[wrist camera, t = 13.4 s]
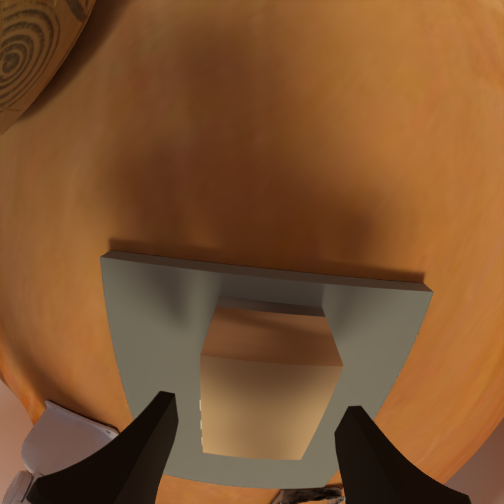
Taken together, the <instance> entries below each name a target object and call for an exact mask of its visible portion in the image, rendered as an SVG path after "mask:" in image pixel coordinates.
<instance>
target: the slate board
mask: <svg viewBox="0 0 504 504" xmlns="http://www.w3.org/2000/svg"><path fill="white" fill-rule="evenodd" d="M100 262H101V272H102V281H103V290H104V297H105V304H106V310H107V317H108V322H109V328H110V333H111V338H112V343H113V348H114V352H115V357H116V361H117V365H118V369H119V373H120V377H121V381H122V384H123V388H124V392H125V395H126V398H127V402H128V405H129V408H130V411H131V414H132V417H133V420H135V419H136V418H137V417H138V415H139V414H140V413H141V412H142V411H143V410H144V409H145V408H146V407H147V406H148V404H149V403H150V402H151V401H152V400H153V398H154V397H155V396H156V395H157V393H158V392H159V391H166V392H170V393H175V397H176V405H177V412H178V419H179V423H178V427H177V432H176V436H175V441H174V444H173V447H172V449H171V452H170V455H169V458H168V460H167V463H166V466H165V469H164V471H163V474H165V475H169V476H173V477H178V478H183V479H188V480H193V481H198V482H204V483H211V484H218V485H226V486H235V487H247V488H266V489H300V488H318V487H324V486H325V485H326V484H327V483H328V481H329V480H330V479H331V478H332V477H333V475H334V474H335V473H336V472H337V470H338V469H339V465H338V460H337V455H336V448H335V436H334V432H335V430H336V429H337V427H338V425H339V423H340V421H341V419H342V417H343V416H344V414H345V412H346V410H347V408H348V406H360V405H361V406H362V407H363V409H364V410H365V411H366V412H367V414H368V415H369V416H370V418H371V419H372V420H374V418H375V416H376V415H377V413H378V412H379V410H380V408H381V407H382V405H383V403H384V401H385V400H386V398H387V396H388V394H389V393H390V391H391V389H392V387H393V385H394V383H395V381H396V380H397V378H398V376H399V374H400V372H401V370H402V368H403V366H404V364H405V361H406V359H407V357H408V355H409V353H410V351H411V349H412V346H413V344H414V342H415V339H416V337H417V335H418V332H419V330H420V327H421V325H422V322H423V320H424V317H425V314H426V312H427V309H428V306H429V303H430V301H431V298H432V295H433V291H432V290H431V289H430V288H428V287H427V286H426V285H425V284H424V283H412V282H401V281H389V280H378V279H366V278H356V277H345V276H334V275H324V274H314V273H304V272H294V271H285V270H275V269H266V268H256V267H247V266H238V265H229V264H220V263H211V262H203V261H194V260H186V259H177V258H169V257H161V256H153V255H145V254H137V253H129V252H121V251H114V250H110V251H109V252H107V253H106V254H104V255H102V256H101V257H100ZM219 296H222V297H230V298H238V299H247V300H256V301H265V302H275V303H285V304H296V305H308V306H320V307H322V308H323V311H324V313H325V316H326V319H327V321H328V324H329V327H330V329H331V332H332V335H333V338H334V340H335V343H336V346H337V349H338V352H339V354H340V357H341V360H342V363H343V366H344V367H343V369H342V372H341V374H340V377H339V380H338V382H337V384H336V387H335V389H334V392H333V394H332V396H331V399H330V401H329V403H328V406H327V408H326V410H325V412H324V414H323V417H322V419H321V421H320V423H319V425H318V427H317V429H316V431H315V433H314V435H313V437H312V439H311V441H310V443H309V445H308V447H307V449H306V451H305V453H304V455H303V456H302V458H301V460H276V459H255V458H243V457H233V456H224V455H217V454H210V453H204V452H203V444H202V422H201V389H200V354H201V350H202V347H203V344H204V341H205V338H206V335H207V332H208V329H209V326H210V323H211V320H212V317H213V314H214V311H215V308H216V305H217V302H218V299H219Z"/></svg>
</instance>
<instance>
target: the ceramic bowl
mask: <svg viewBox="0 0 504 504" xmlns="http://www.w3.org/2000/svg"><path fill="white" fill-rule="evenodd" d="M95 2H96V0H0V136H1V135H2V134H3V133H4V132H5V131H7V130H8V129H9V128H10V127H11V126H12V125H13V124H14V123H15V122H16V121H17V120H18V119H19V117H20V116H21V115H22V114H23V113H24V112H25V111H26V110H27V109H28V108H29V107H30V105H31V104H32V103H33V102H34V101H35V100H36V98H37V97H38V96H39V94H40V93H41V92H42V91H43V89H44V88H45V87H46V85H47V84H48V83H49V82H50V81H51V79H52V78H53V77H54V75H55V74H56V73H57V71H58V70H59V68H60V67H61V65H62V64H63V63H64V61H65V60H66V58H67V56H68V55H69V53H70V52H71V50H72V49H73V47H74V45H75V44H76V42H77V40H78V38H79V36H80V34H81V33H82V31H83V29H84V27H85V25H86V23H87V21H88V19H89V17H90V14H91V12H92V9H93V7H94V4H95Z"/></svg>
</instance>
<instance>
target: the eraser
mask: <svg viewBox="0 0 504 504" xmlns="http://www.w3.org/2000/svg"><path fill="white" fill-rule="evenodd" d="M343 367H344V366H343V363H342V360H341V357H340V354H339V352H338V349H337V346H336V343H335V340H334V338H333V335H332V332H331V329H330V327H329V324H328V321H327V319H326V316H325V313H324V311H323V308H322V307H320V306H308V305H296V304H285V303H275V302H265V301H256V300H247V299H238V298H230V297H222V296H219V299H218V302H217V305H216V308H215V311H214V314H213V317H212V320H211V323H210V326H209V329H208V332H207V335H206V338H205V341H204V344H203V347H202V350H201V354H200V389H201V422H202V444H203V452H204V453H210V454H217V455H224V456H233V457H243V458H255V459H276V460H301V458H302V456H303V455H304V453H305V451H306V449H307V447H308V445H309V443H310V441H311V439H312V437H313V435H314V433H315V431H316V429H317V427H318V425H319V423H320V421H321V419H322V417H323V414H324V412H325V410H326V408H327V406H328V403H329V401H330V399H331V396H332V394H333V392H334V389H335V387H336V384H337V382H338V380H339V377H340V374H341V372H342V369H343Z"/></svg>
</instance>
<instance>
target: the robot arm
mask: <svg viewBox="0 0 504 504" xmlns="http://www.w3.org/2000/svg"><path fill="white" fill-rule="evenodd" d="M45 404H46V406H47V408H46V410H45V411H44V412H43V414H42V415H41V417H40V418H39V419H38V421H37V422H36V424H35V425H34V427H33V428H32V430H31V431H30V432H29V434H28V435H27V437H26V439H25V440H24V443H23V446H22V452H21V454H22V460H23V462H24V464H25V466H26V467H27V469H29V471H30V472H31V473H30V472H29V471H28V470H25V471H19V472H18V474H17V475H16V476H15V478H14V479H13V481H12V482H11V484H10V486H9V488H8V489H7V491H6V494H5V496H4V498H3V501H2V504H155V500H156V495H157V490H158V486H159V483H160V480H161V477H162V474H163V471H164V469H165V466H166V463H167V460H168V458H169V455H170V452H171V449H172V447H173V444H174V441H175V436H176V432H177V427H178V423H179V419H178V412H177V405H176V397H175V393H170V392H166V391H159V392H158V393H157V395H156V396H155V397H154V398H153V400H152V401H151V402H150V403H149V404H148V406H147V407H146V408H145V409H144V410H143V411H142V412H141V413H140V414H139V415H138V417H137V418H136V419H135V420H134V421H133V422H132V423H131V424H130V425H129V426H128V427H127V428H125V429H124V430H123V431H122V432H121V433H120V434H119V433H118V431H117V430H115V429H113V428H110V427H108V426H105V425H102V424H100V423H97V422H94V421H92V420H89V419H87V418H85V417H82V416H80V415H78V414H75V413H73V412H71V411H69V410H66V409H64V408H62V407H60V406H58V405H56V404H54V403H52V402H50V401H48V400H46V401H45ZM334 436H335V448H336V455H337V460H338V465H339V469H340V474H341V478H342V483H343V487H344V493H345V502H346V504H471V501H470V499H469V496H468V495H465V494H463V493H460V492H458V491H455V490H453V489H450V488H448V487H446V486H444V485H442V484H441V483H439V482H437V481H435V480H434V479H432V478H431V477H429V476H428V475H426V474H425V473H423V472H422V471H421V470H419V469H418V468H417V467H416V466H414V465H413V464H412V463H411V462H410V461H408V460H407V459H406V458H405V457H404V456H403V455H402V454H401V453H400V452H399V451H398V450H397V449H396V448H395V447H394V445H393V444H392V443H391V442H390V441H389V440H388V439H387V437H386V436H385V435H384V434H383V433H382V431H381V430H380V429H379V428H378V426H377V425H376V424H375V423H374V421H373V420H372V419H371V418H370V416H369V415H368V414H367V412H366V411H365V410H364V409H363V407H362V406H361V405H360V406H348V408H347V410H346V412H345V414H344V416H343V417H342V419H341V421H340V423H339V425H338V427H337V429H336V430H335V432H334Z"/></svg>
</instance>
